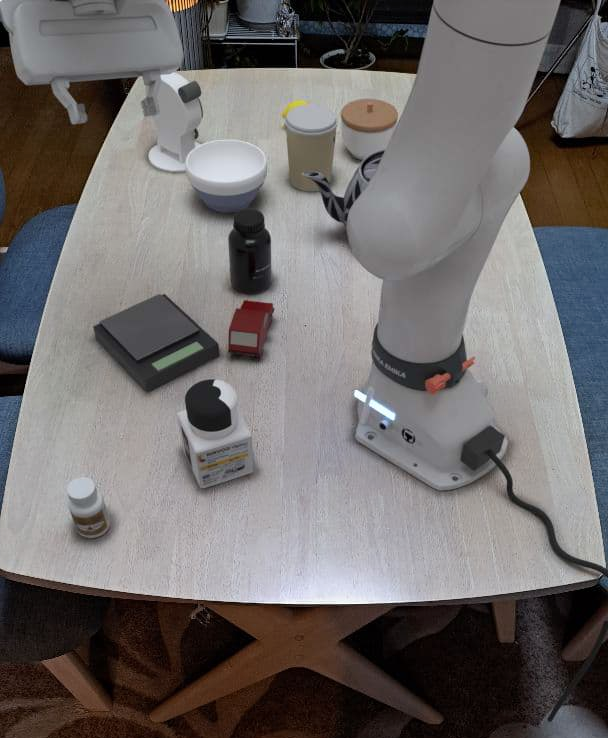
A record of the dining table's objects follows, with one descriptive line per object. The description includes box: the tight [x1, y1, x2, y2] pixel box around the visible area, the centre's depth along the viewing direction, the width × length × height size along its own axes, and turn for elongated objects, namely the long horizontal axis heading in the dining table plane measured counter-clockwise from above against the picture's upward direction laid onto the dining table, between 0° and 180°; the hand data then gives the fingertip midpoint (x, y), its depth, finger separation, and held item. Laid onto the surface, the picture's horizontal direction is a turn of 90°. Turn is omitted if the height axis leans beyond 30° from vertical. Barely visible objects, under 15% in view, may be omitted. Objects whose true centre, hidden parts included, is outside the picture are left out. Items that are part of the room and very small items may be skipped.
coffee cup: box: [284, 103, 339, 193], centre depth 147 cm, size 9×9×12 cm
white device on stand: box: [145, 71, 204, 173], centre depth 150 cm, size 12×11×15 cm
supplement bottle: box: [227, 208, 272, 295], centre depth 129 cm, size 7×7×12 cm
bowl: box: [185, 138, 268, 213], centre depth 145 cm, size 14×14×8 cm
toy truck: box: [227, 299, 275, 359], centre depth 124 cm, size 6×12×5 cm, turn 170°
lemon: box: [281, 99, 310, 121], centre depth 161 cm, size 7×5×5 cm
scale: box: [92, 293, 221, 393], centre depth 123 cm, size 15×13×3 cm
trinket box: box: [340, 98, 399, 161], centre depth 154 cm, size 11×11×9 cm
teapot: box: [302, 150, 385, 231], centre depth 136 cm, size 19×31×15 cm, turn 94°
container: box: [176, 378, 255, 489], centre depth 106 cm, size 8×8×13 cm
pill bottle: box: [66, 476, 111, 539], centre depth 101 cm, size 4×4×8 cm
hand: (117, 118), depth 97 cm, fingers open, 8 cm apart
